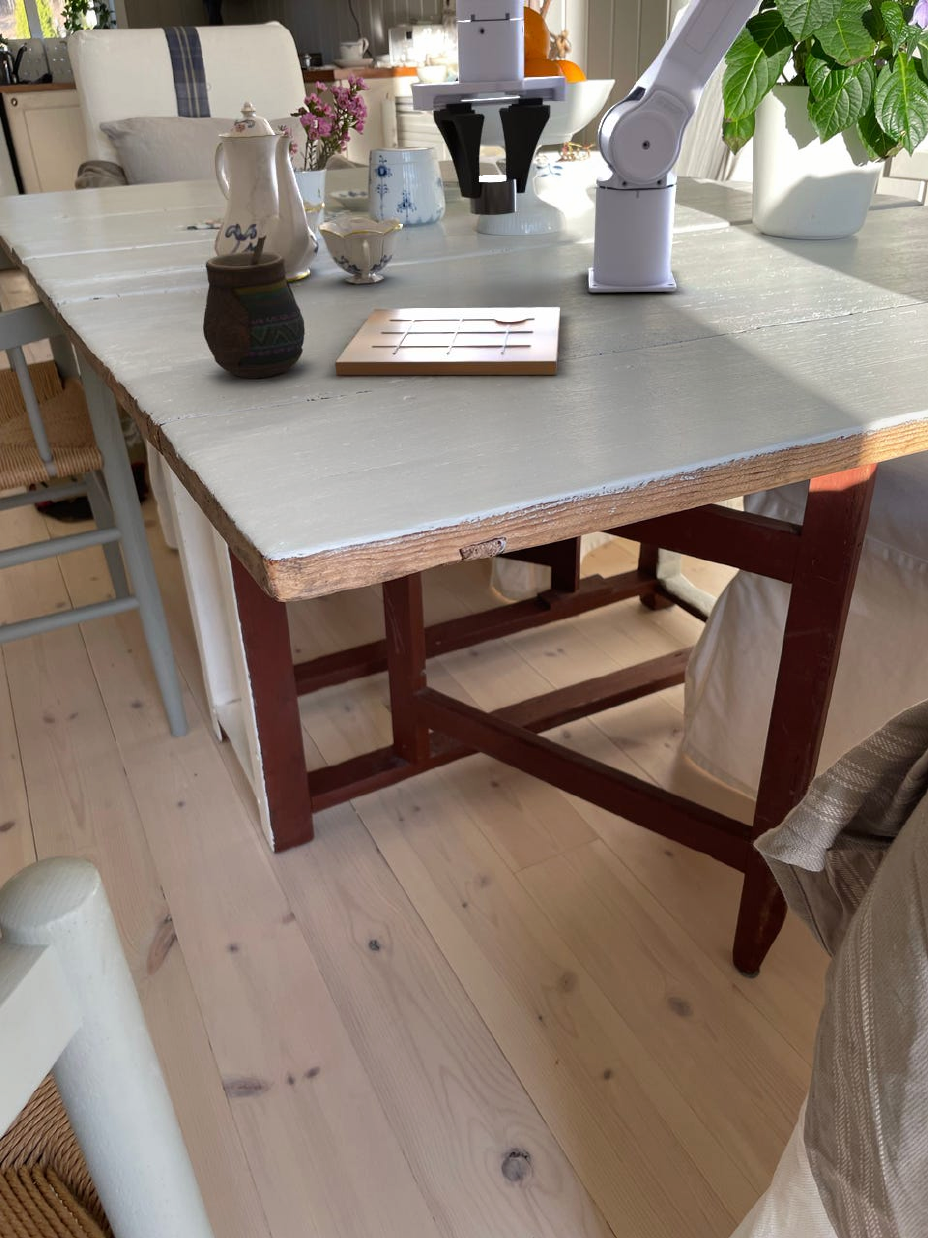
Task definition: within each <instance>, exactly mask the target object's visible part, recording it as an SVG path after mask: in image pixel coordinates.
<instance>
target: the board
mask: <svg viewBox="0 0 928 1238" xmlns="http://www.w3.org/2000/svg"><path fill="white" fill-rule="evenodd" d="M560 328H561V307H560V306H554V307H553V306H552V307H551V306H547V307H545V306H543V307H541V306H540V307H539V306H537V307H453V308H452V307H451V308H448V307H447V308H445V307H444V308H436V307H435V308H375V309H374V310H373V311H372V312H371V314H370V315H369V317H367V319H366V320H365V322H364V323H363V324H362V326H361V327H360V328H359V330H358V331H357V333H356V334H355V335H354V336H353V338H352V339H351V340H350V342H349V343H348V345H346V347H345V348H344V349H343V351H342V352H341V354H340V355H339V356H338V358H337V359H336V361H335V362H334V364H335V375H336V376H555V375H557V369H558V358H559V357H558V355H559V343H560V330H561V329H560Z"/></svg>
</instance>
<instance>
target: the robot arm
mask: <svg viewBox="0 0 928 1238" xmlns="http://www.w3.org/2000/svg"><path fill="white" fill-rule="evenodd" d="M524 2H525V1H524V0H455V19H456V20H455V21H456V47H457V49H456V52H457V80H458V81H447V82H437V83H436V82H434V83H423V84H412V85H411V90H412V109H413V111H418V112H419V111H420V112H427V111H428V112H430V111H431V112H433V113H432V114H433V115H432V116H433V122H434V124H435V125H436V128H437V130H438V131H439V133H440V135H441V137H442V139H443V141H444V143H445V146H446V148H447V150H448V153H449V155H450V157H451V160H452V163H453V168H454V170H455V174H456V177H457V181H458V185H459V186H458V187H459V190H460V195H461V198H466V199H469V200H470V199H476V198H479V192H480V177H481V173H480V170H481V169H480V154H481V143H482V135H483V128H484V123H485V119H486V117H485V114H483V113H476V110H475V109H473V108H474V107H476V108H477V107H489V106H501V105H508V106H506V107H500V108H499V110H498V113H499V118H500V123H501V127H502V128H501V129H502V134H503V141H504V151H505V176H514V177H517V194H525V193H526V188H527V184H528V178H529V175H530V169H531V167H532V162H533V158H534V155H535V151H536V148H537V147H538V143H539V141H540V138H541V136H542V134H543V132H544V130H545V127H546V126H547V123H548V122H549V120H550V118H551V109H552V108H551V104H544V102H566V100H567V76H541V77H540V76H539V77H538V76H537V77H536V76H535V77H525V20H524V18H525V15H524V12H525V11H524V7H525V4H524ZM760 2H761V0H691V1H690V3H689V5H688V6H687V8H686V9H685V10H684V13H683V14H682V16H681V17H680V19H679V21H678V23H677V24H676V26H675V28H673V31H672V32H671V34H670V36H669V37H668V39H667V41H666V42H665V43H664V45H663V47H662V49H660V52H659V53H658V54H657V56H656V58H655V59H654V60H653V61H652V63H651V64H650V66H649V67H648V68H646V70H645V71H644V72H643V74H642V75H641V76H640V78H639V79H637V82H636V83H635V85H634V87H633V88H632V90H630V92H629V93H628V95H626V96H625V97H624V98H623V99H621V100H620V101H618V102H617V103H615V104H613V105H612V106H611V107H610V108H609V109H608V110H607V112H606V113H605V114H604V116H603V117H602V119H601V122H600V124H599V128H598V133H597V146H598V150H599V152H600V156H601V158H602V159H603V160H604V162H605V163H606V164H607V165H606V166H605V167H604V170H603V172H601V174H600V175H599V176H597V178H596V182H595V183H596V186H595V210H594V211H595V212H594V237H593V238H594V239H593V240H594V241H593V242H594V243H593V266H592V267H588V269H587V270H588V272H587V273H588V274H587V275H588V291H589V292H590V293H655V292H656V293H661V292H676V291H677V284H676V281H675V279H674V276H673V273H672V270H671V260H672V245H673V232H674V219H675V217H674V216H675V206H676V205H675V203H676V190H677V184H676V183H677V174H675V173H674V172H671V171H672V170H673V168H674V167H675V166H676V164H677V162H678V160H679V158H680V155H681V151H682V146H683V140H684V136H685V132H686V130H687V128H688V126H689V124H690V122H691V121H692V119H693V117H694V116H695V115H696V112H697V110H698V107H699V104H700V101H701V97H702V95H703V91H704V89H705V87H706V86H707V84H708V82H709V81H710V80H711V77H712V76H713V75H714V73H715V72H716V70H717V68H718V67H719V65H720V64H721V62H722V60H723V59H724V57H725V56H726V54H727V52H729V50H730V49H731V47H732V45H733V44H734V42H735V41H736V39H737V38H738V36H739V34H740V33H741V31H742V30H743V28H744V27H745V25H746V24H747V22H748V20H749V19H750V18H751V16H752V15H753V13H754V11H755V9H756V8H757V7H758V5H759V3H760ZM494 93H495V94H496V93H504V95H505V96H510V97H498V98H497V97H496V98H482V99H478V98H479V95H478V94H494ZM511 96H512V97H511ZM465 99H466V100H465Z"/></svg>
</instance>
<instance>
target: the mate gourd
mask: <svg viewBox="0 0 928 1238" xmlns="http://www.w3.org/2000/svg"><path fill="white" fill-rule="evenodd" d="M266 236H267V235H266ZM266 236H264V237H262V238H260V237H258V242H257V245H256V246H255V249H254V252H240V253H231V254H225V255H220V256H217V255H216V256H214V257H211V258H209V259H208V260H207V261H206V262H205V269H206V275H207V282H208V288H207V293H206V294H207V296H206V300H205V302H206V303H205V309H204V315H203V323H202V332H203V337H204V339H205V342H206V344H207V347H208V349H209V351H210V353H211V355H212V356H213V358H214V361H215V363H216V364H217V365H218V366H220V367H221V368H222V369H224V370H225V371H226V372H229V373H230V374H231V375H233V376H236V377H240V378H246V379H260V378H267V377H273V376H277V375H280V374H283V373H285V372H287V371H289V370H291V368H292V367H293V366H294V365H296V363H297V362H298V361H299V359H300V358H301V356H302V354H303V351H304V349H303V345H304V342H305V335H306V329H305V320H304V317H303V315H302V312H301V309H300V307H299V304H298V303H297V300H296V298H295V295H294V293H293V291H292V289H291V287H290V284H289V282H287V279H286V277H285V275H286V270H285V264H284V261H285V260H284V257H283V256H282V255H279V254H276V253H272V252H262V251H263V246H264V241H265V239H266Z"/></svg>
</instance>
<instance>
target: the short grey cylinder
mask: <svg viewBox="0 0 928 1238" xmlns="http://www.w3.org/2000/svg"><path fill="white" fill-rule="evenodd" d="M516 212H518V193H517V177H514V176H506V175H482V176H481V175H480V192H479V198H476V199H470V198H469V213H470V214H472V215H479V216H499V215H500V216H501V215H509V214H514V213H516Z"/></svg>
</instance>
